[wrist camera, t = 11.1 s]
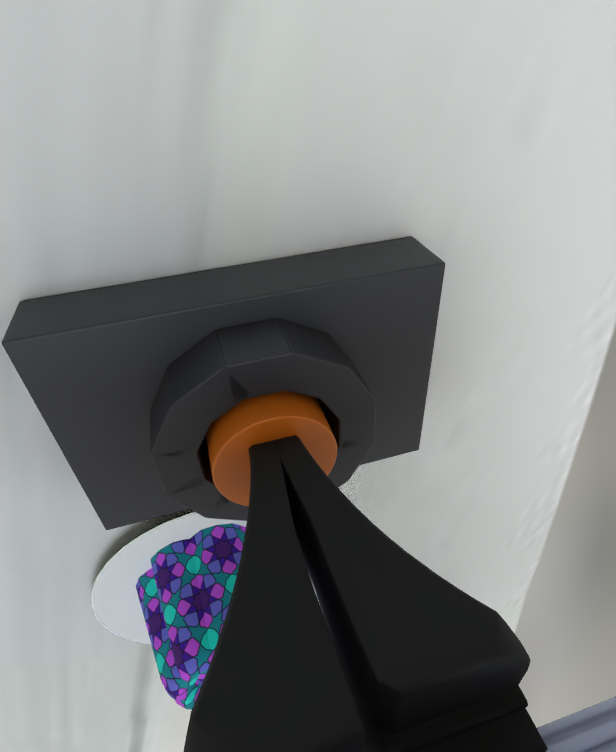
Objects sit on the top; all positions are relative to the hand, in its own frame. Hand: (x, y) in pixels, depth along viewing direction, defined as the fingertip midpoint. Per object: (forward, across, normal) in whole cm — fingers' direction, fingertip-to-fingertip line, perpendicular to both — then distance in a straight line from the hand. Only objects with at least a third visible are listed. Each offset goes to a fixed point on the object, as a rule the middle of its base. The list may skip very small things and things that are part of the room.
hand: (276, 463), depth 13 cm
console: (+5, 0, 0) cm, 5 cm away
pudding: (+5, +3, +12) cm, 13 cm away
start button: (+2, 0, 0) cm, 2 cm away
